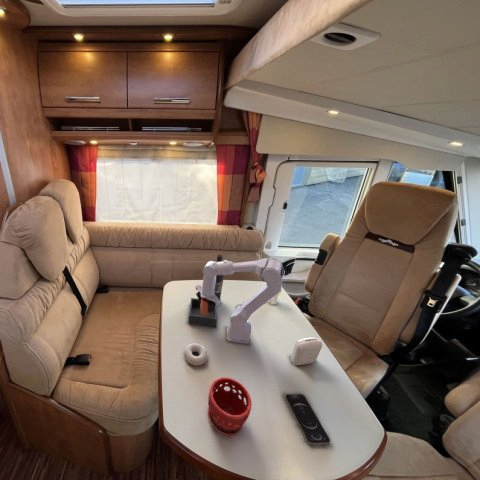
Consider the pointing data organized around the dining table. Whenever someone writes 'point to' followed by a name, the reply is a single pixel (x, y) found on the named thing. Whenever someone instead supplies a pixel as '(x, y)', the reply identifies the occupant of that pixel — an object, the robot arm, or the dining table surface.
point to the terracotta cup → (204, 306)
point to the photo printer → (306, 351)
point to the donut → (195, 359)
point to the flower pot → (228, 406)
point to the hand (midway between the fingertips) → (205, 308)
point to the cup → (274, 298)
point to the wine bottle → (219, 280)
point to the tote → (201, 315)
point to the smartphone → (307, 419)
